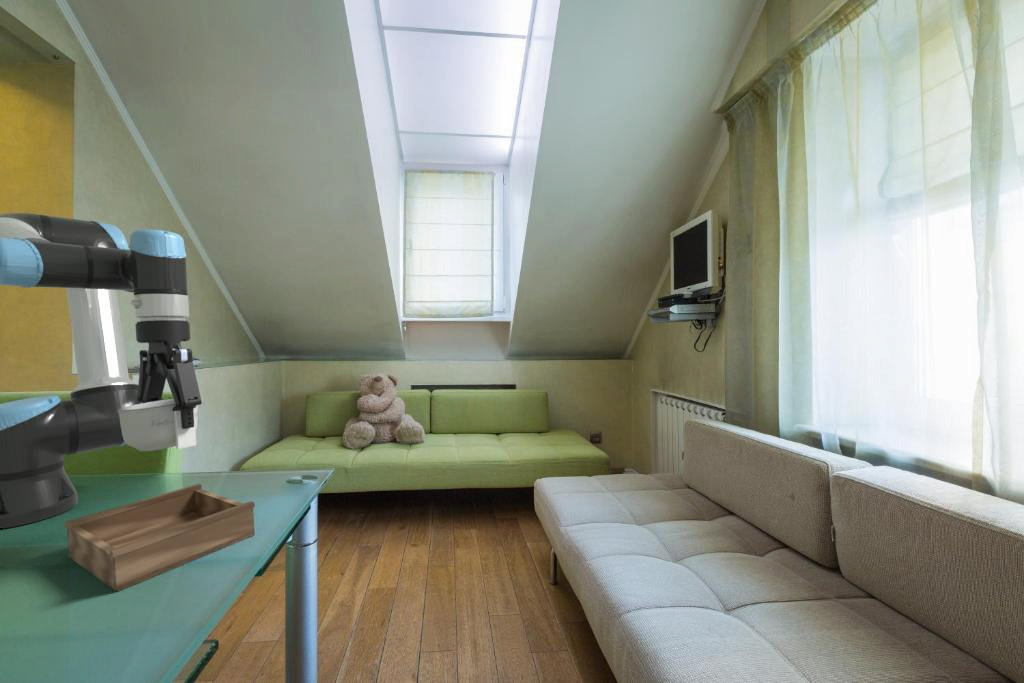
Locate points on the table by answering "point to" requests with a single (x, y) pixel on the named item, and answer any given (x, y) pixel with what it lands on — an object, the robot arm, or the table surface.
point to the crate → (156, 534)
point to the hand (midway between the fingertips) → (170, 443)
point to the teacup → (150, 425)
